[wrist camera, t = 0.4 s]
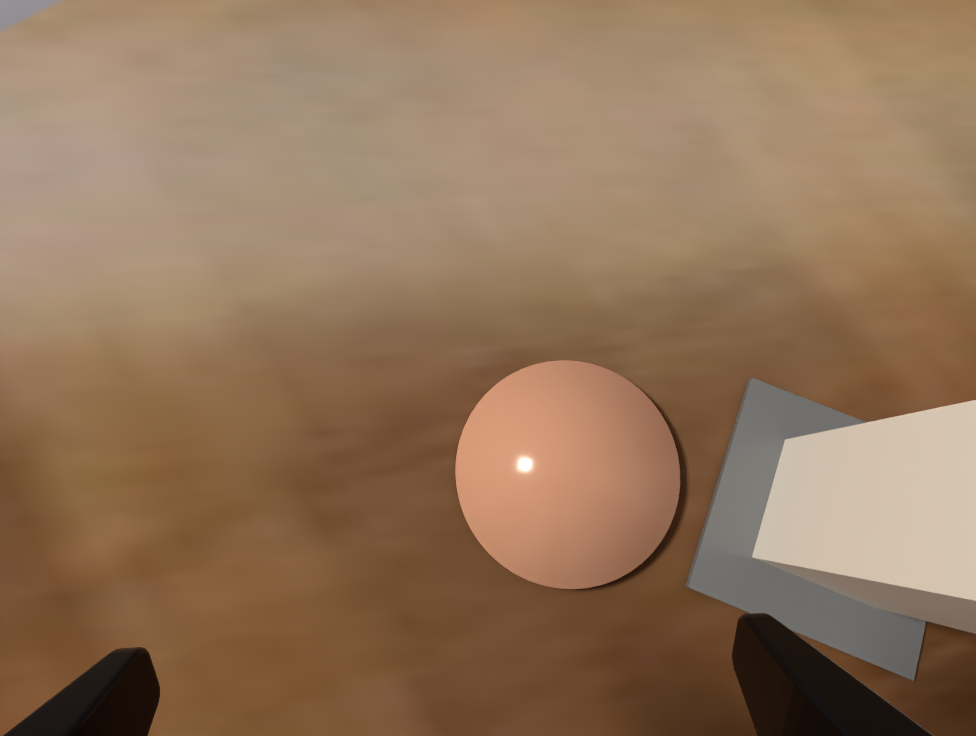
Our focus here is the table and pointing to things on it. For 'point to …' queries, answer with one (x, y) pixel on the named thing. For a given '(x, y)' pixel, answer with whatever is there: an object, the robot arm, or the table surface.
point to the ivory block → (882, 513)
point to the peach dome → (567, 474)
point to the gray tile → (766, 588)
